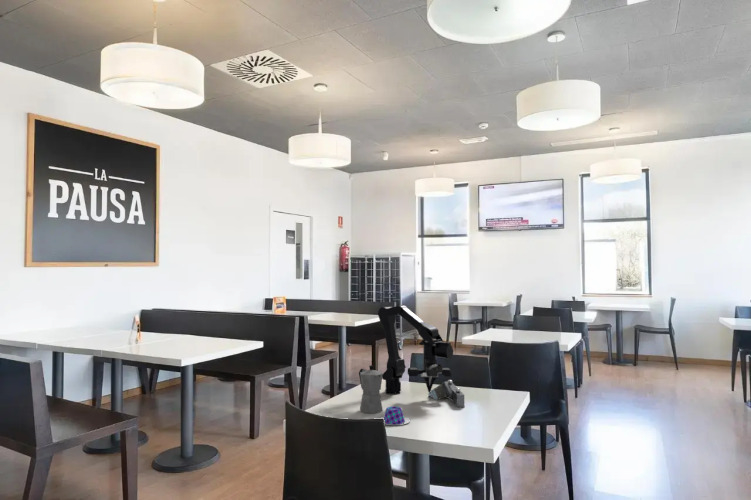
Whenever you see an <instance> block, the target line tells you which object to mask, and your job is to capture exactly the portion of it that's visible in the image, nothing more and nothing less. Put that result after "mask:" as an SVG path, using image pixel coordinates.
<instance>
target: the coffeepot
mask: <svg viewBox="0 0 751 500" xmlns="http://www.w3.org/2000/svg"><path fill="white" fill-rule="evenodd" d="M368 367H369V369H364V368H360V369H359V372H358V375H359V383H360V388H361V389H362V395H361V401H360V408H359V410H360V412H361V413H363V414H369V415H372V414H373V415H374V414H380V413H381V412H383V410H384V409H383V405H382V398H381V394H380V390H381V388H382V384H383V383H382V380H383V377H382V376H383V373H384V372H382V371H381V370H374V365H372V364H371V365H368Z"/></svg>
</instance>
